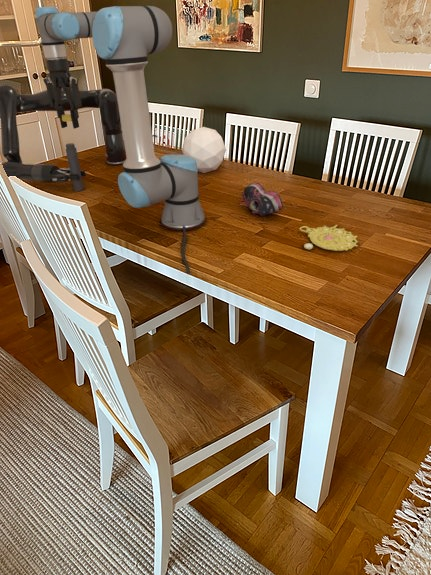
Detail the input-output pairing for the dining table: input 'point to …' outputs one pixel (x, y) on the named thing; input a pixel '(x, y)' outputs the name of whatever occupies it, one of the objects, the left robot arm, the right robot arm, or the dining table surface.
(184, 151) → the sphere
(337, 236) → the decorative object
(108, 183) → the dining table surface
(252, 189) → the athletic shoe
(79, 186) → the dark grey cylinder
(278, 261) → the dining table surface
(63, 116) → the lid
